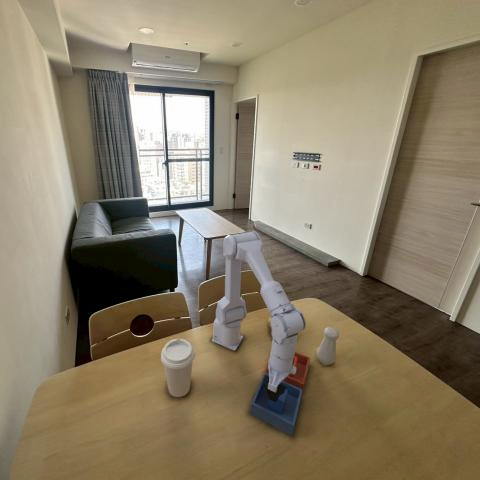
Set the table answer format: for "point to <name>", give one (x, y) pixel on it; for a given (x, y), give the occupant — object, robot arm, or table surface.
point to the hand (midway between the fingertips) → (276, 387)
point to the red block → (293, 365)
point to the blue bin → (274, 418)
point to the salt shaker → (328, 346)
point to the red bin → (298, 371)
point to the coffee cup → (178, 366)
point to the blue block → (278, 403)
